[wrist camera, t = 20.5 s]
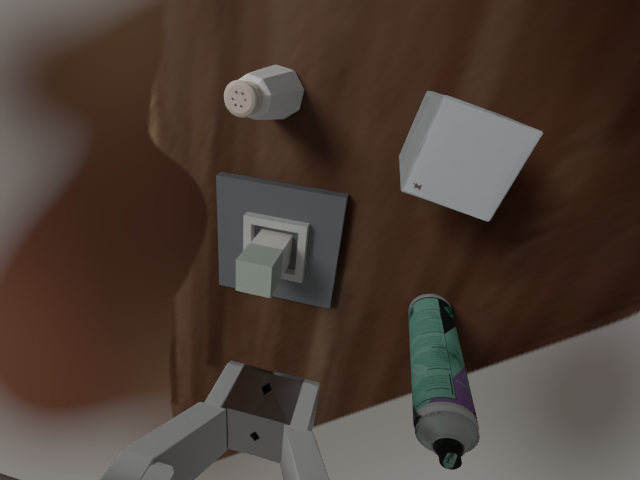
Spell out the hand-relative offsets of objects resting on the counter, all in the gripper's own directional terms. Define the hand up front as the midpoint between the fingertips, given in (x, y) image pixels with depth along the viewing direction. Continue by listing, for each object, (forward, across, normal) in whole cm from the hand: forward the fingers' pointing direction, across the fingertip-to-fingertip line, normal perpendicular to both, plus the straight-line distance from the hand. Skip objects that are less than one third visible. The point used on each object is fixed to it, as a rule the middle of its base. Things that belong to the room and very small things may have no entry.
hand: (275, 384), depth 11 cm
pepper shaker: (+31, +10, -6) cm, 33 cm away
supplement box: (+31, -8, -4) cm, 33 cm away
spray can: (+31, -12, +18) cm, 38 cm away
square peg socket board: (+31, +9, +12) cm, 34 cm away
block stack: (+30, +9, +12) cm, 33 cm away
